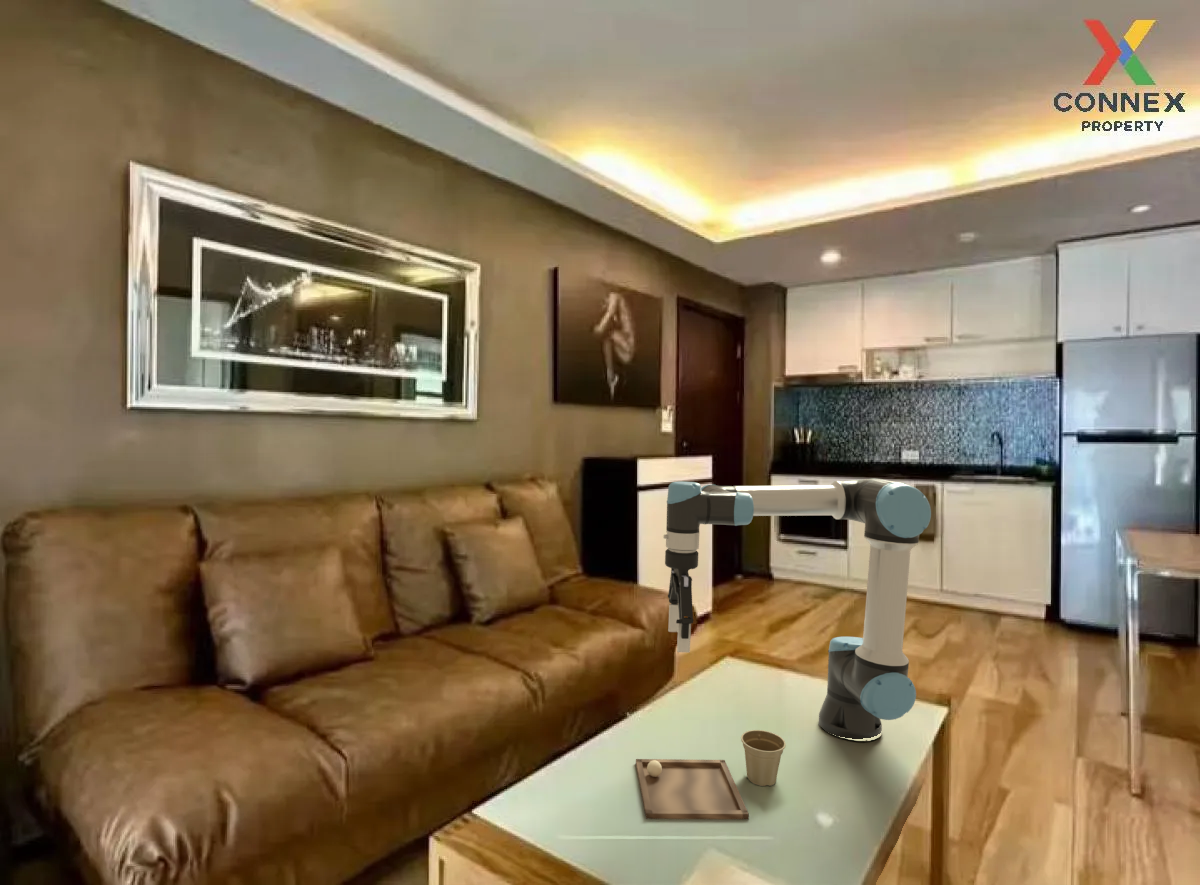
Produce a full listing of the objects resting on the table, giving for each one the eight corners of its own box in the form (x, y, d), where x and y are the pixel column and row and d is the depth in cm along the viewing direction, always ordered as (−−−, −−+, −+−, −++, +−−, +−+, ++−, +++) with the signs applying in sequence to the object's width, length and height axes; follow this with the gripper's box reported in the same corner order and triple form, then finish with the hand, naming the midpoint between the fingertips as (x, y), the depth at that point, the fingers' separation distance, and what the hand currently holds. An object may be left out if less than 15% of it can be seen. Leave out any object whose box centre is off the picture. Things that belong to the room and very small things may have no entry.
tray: (724, 766, 146) (724, 759, 146) (748, 821, 126) (748, 814, 126) (635, 765, 145) (635, 759, 145) (646, 821, 125) (646, 813, 125)
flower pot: (785, 794, 136) (787, 754, 136) (739, 787, 138) (741, 747, 138) (782, 770, 145) (784, 732, 145) (739, 765, 147) (740, 727, 147)
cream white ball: (660, 771, 142) (661, 757, 142) (662, 780, 139) (663, 765, 139) (645, 771, 142) (646, 757, 142) (647, 779, 139) (648, 765, 139)
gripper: (658, 538, 161) (655, 623, 162) (673, 561, 136) (670, 661, 137) (688, 539, 161) (685, 624, 162) (709, 561, 137) (705, 661, 137)
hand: (678, 641), depth 150 cm, fingers open, 13 cm apart
